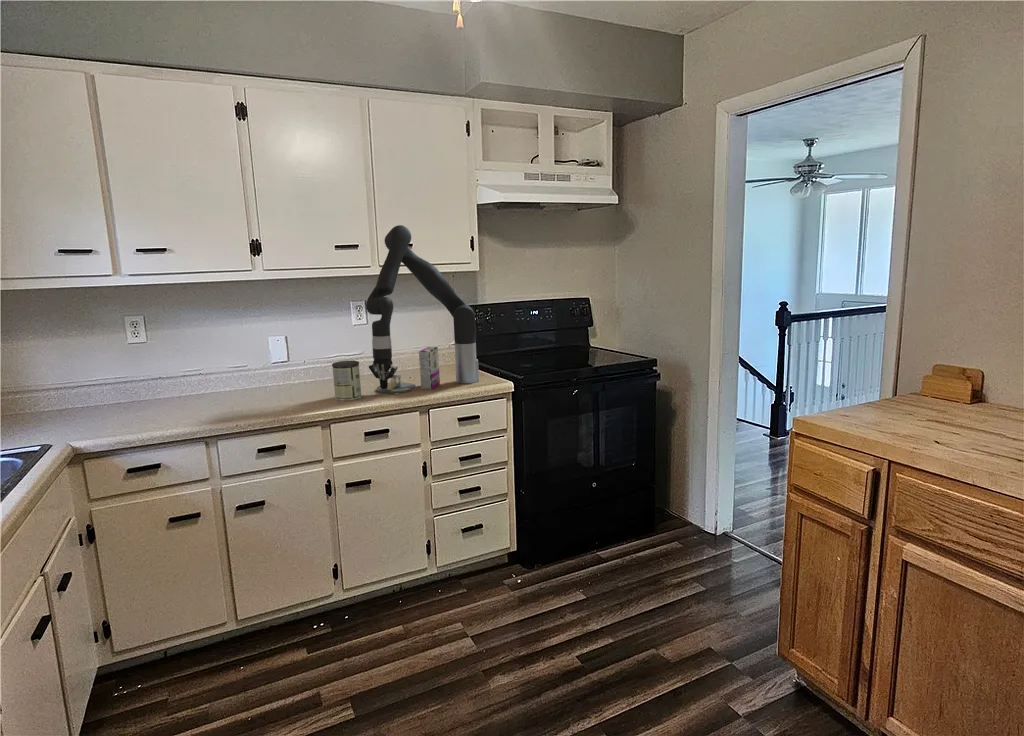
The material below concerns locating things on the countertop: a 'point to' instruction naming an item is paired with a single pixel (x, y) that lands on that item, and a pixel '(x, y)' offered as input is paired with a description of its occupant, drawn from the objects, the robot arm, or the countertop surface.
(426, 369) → the candy bar box
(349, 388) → the coffee can
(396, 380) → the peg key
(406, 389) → the dial plate
